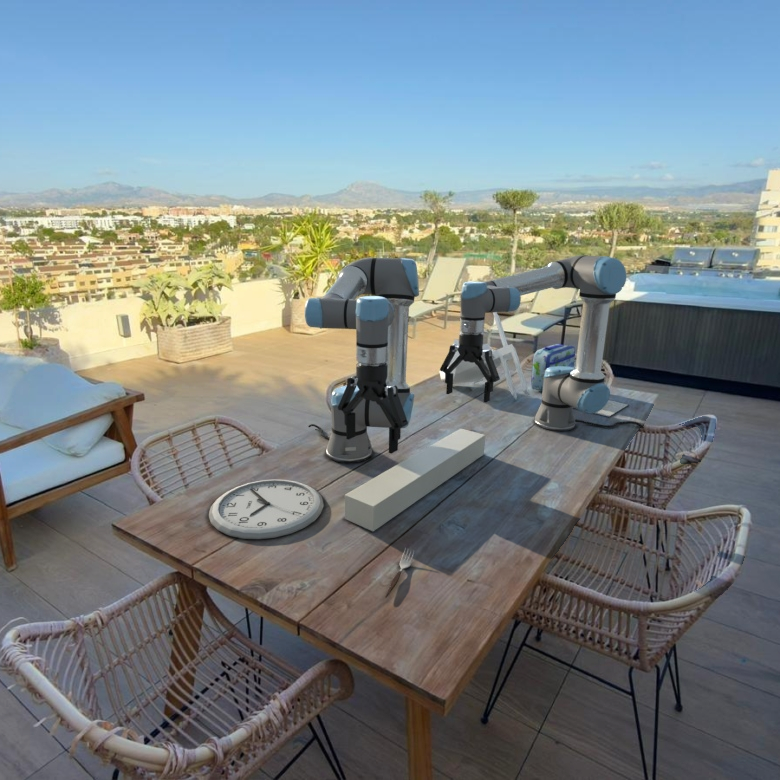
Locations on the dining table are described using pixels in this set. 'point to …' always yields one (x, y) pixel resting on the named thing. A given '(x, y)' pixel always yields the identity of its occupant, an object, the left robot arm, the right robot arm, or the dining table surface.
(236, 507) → the wall clock
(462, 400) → the dining table surface
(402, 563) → the fork
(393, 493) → the off-white long beam
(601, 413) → the invitation card
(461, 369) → the white plastic object
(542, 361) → the lunch box
